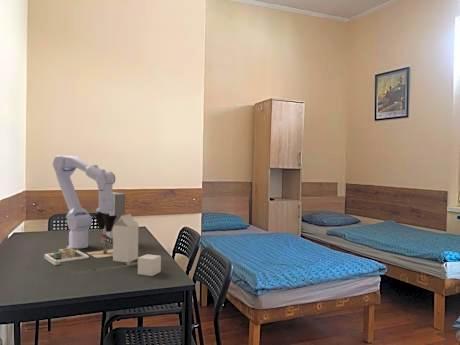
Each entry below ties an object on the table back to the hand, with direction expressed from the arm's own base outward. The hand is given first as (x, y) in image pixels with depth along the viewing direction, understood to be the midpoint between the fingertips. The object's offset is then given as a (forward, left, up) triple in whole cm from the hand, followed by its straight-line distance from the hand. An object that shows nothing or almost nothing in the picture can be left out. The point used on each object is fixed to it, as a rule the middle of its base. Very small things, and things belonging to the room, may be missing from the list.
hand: (105, 230), depth 169 cm
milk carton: (+20, 0, -10) cm, 22 cm away
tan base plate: (+5, -2, -10) cm, 11 cm away
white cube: (+39, 0, -10) cm, 40 cm away
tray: (+2, -17, -10) cm, 20 cm away
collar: (+2, -17, -9) cm, 20 cm away
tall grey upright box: (-14, +10, -10) cm, 20 cm away
